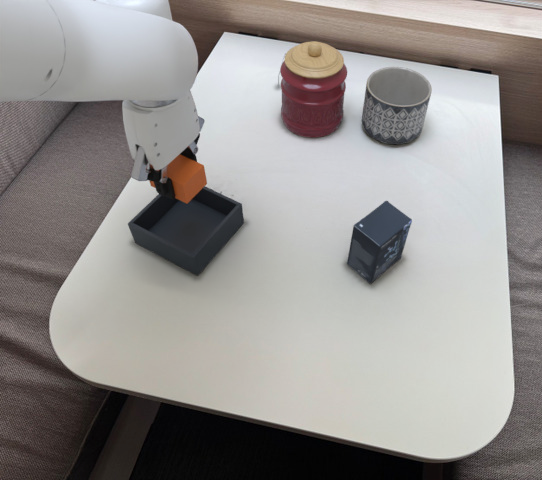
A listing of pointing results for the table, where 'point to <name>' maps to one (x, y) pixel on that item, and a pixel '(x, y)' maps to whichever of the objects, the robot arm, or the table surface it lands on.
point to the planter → (395, 104)
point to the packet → (185, 177)
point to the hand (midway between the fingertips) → (178, 182)
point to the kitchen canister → (313, 89)
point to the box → (378, 241)
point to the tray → (188, 227)
